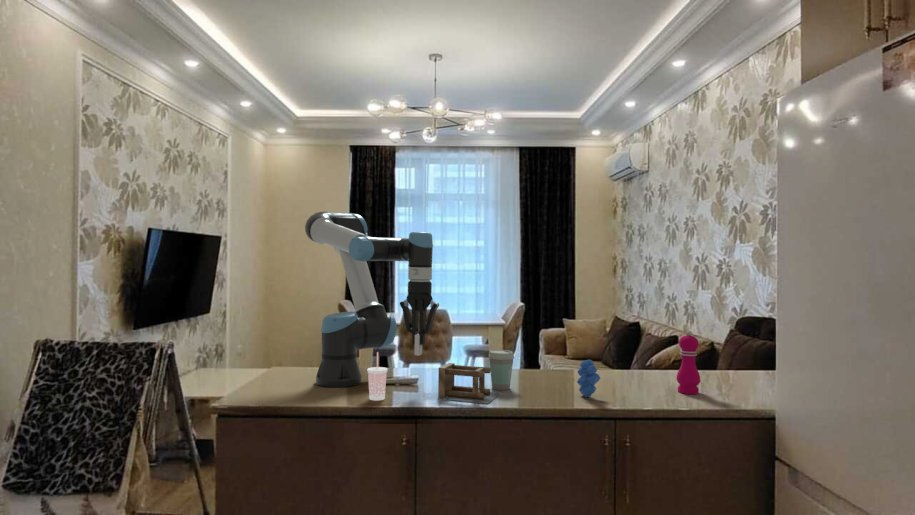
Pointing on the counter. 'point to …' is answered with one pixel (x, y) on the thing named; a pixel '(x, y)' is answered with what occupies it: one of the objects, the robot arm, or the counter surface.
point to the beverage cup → (377, 382)
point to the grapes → (587, 378)
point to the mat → (486, 399)
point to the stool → (449, 389)
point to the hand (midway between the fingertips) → (418, 354)
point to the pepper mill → (688, 365)
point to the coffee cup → (501, 368)
